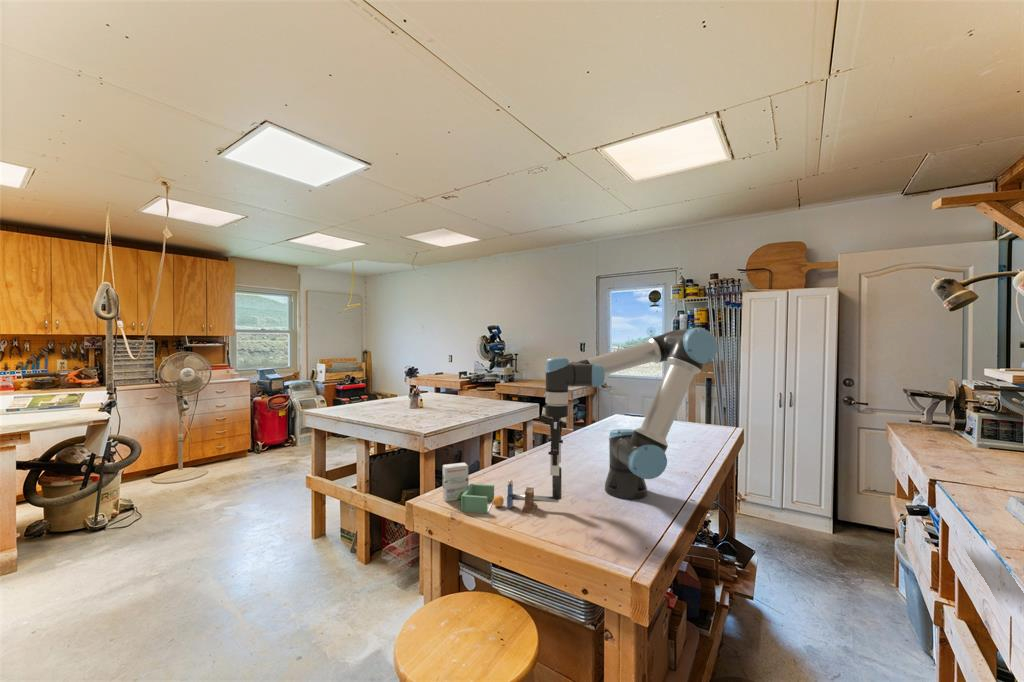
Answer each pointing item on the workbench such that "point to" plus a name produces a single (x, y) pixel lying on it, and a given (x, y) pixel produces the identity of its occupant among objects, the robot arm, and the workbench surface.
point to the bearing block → (529, 501)
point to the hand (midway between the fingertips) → (555, 468)
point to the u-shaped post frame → (554, 498)
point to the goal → (477, 498)
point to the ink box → (454, 481)
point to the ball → (498, 500)
